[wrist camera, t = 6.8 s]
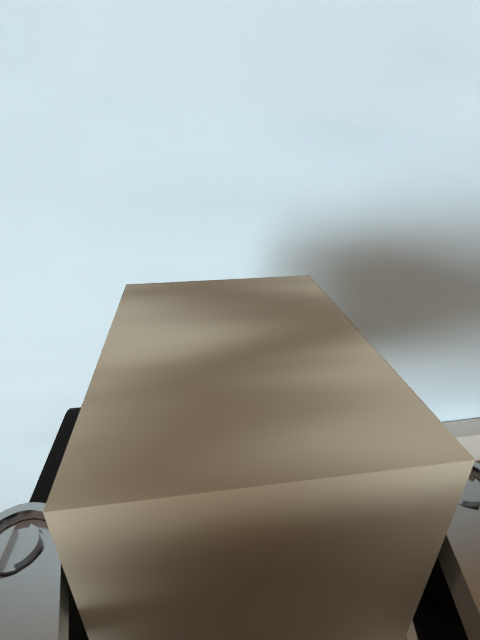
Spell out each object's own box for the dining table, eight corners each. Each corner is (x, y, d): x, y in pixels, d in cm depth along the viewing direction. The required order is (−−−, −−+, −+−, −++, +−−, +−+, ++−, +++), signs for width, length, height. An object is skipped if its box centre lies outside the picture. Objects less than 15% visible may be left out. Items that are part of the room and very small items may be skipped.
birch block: (308, 275, 9) (475, 460, 4) (293, 449, 12) (381, 697, 7) (126, 284, 9) (43, 511, 4) (152, 464, 12) (128, 748, 6)
